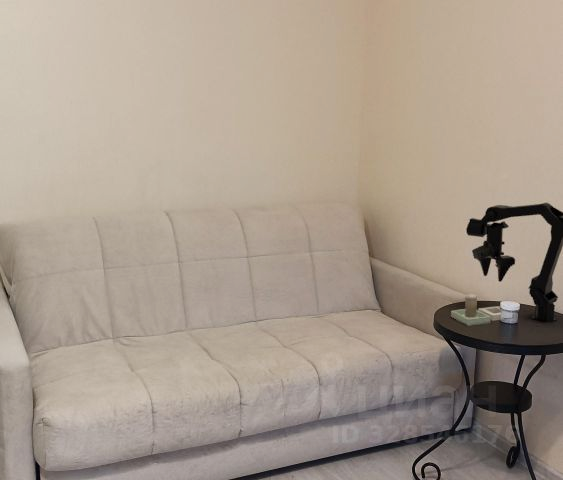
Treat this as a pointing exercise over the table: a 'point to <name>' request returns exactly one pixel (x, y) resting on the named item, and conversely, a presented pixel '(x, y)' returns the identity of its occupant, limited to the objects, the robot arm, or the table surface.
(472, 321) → the tray
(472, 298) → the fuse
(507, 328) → the table surface
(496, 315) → the socket block
